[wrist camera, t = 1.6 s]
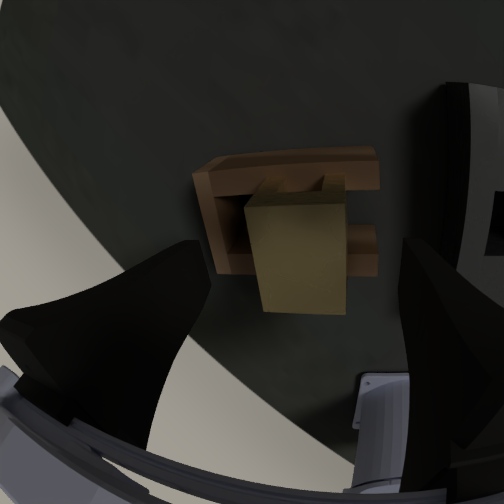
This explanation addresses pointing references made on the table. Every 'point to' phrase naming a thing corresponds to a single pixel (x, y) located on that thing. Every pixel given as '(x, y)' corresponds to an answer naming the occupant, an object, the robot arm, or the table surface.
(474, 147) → the dark grey l-shaped block
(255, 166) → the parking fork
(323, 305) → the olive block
